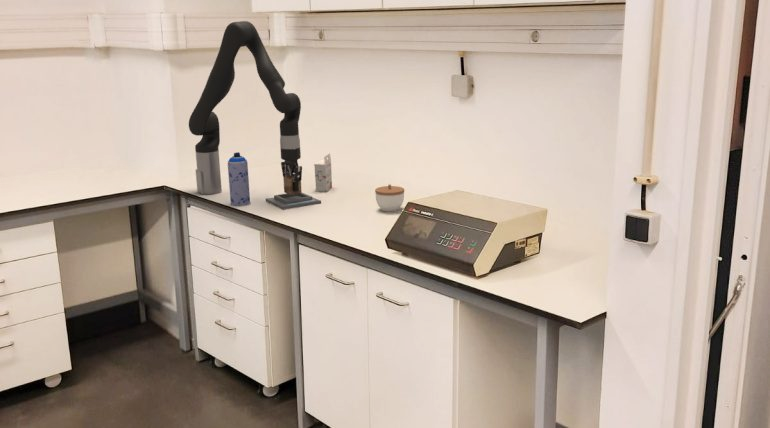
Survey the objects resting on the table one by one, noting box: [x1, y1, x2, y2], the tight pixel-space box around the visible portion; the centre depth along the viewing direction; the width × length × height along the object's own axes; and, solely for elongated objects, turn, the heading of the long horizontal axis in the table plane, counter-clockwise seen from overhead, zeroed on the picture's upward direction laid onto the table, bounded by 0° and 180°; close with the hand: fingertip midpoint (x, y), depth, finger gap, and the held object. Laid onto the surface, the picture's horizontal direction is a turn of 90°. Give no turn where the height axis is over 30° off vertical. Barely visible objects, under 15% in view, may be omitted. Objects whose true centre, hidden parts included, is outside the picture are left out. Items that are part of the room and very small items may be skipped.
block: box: [282, 176, 303, 195], centre depth 276 cm, size 5×5×6 cm
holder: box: [265, 192, 322, 210], centre depth 277 cm, size 16×16×2 cm
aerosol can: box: [227, 151, 252, 207], centre depth 274 cm, size 8×8×20 cm
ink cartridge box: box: [313, 153, 333, 193], centre depth 296 cm, size 9×5×15 cm, turn 168°
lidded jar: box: [374, 184, 405, 213], centre depth 263 cm, size 11×11×9 cm
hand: (292, 189), depth 276 cm, fingers closed on block, 5 cm apart
